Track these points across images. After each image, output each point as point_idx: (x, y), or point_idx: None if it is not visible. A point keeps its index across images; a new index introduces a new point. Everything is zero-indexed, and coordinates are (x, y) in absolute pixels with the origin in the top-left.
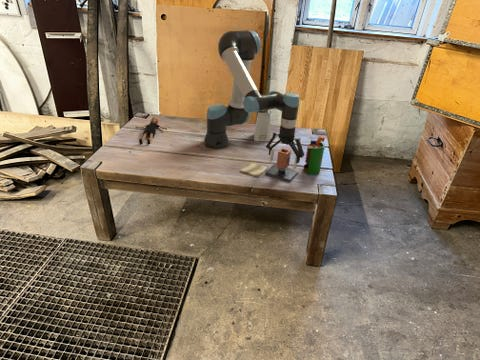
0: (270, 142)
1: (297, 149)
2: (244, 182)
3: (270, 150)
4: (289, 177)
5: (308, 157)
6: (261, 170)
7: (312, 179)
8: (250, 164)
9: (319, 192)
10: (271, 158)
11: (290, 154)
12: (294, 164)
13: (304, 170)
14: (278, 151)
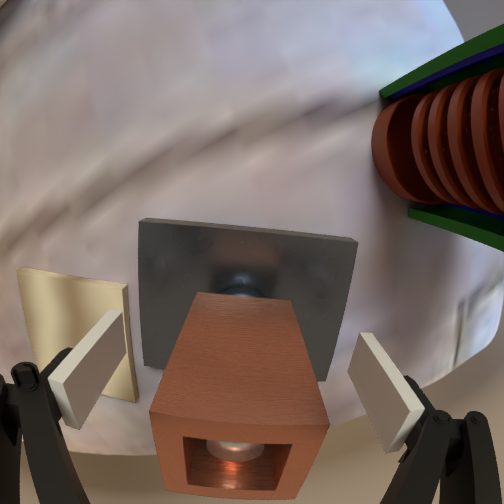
0: (11, 484)
1: (438, 479)
2: (119, 439)
3: (59, 408)
4: (315, 361)
5: (480, 203)
6: None
7: (440, 268)
8: (33, 301)
9: (458, 364)
10: (114, 361)
11: (314, 379)
12: (364, 398)
13: (389, 184)
14: (169, 489)
